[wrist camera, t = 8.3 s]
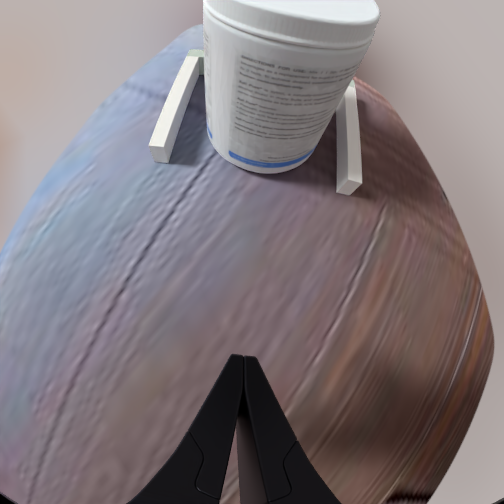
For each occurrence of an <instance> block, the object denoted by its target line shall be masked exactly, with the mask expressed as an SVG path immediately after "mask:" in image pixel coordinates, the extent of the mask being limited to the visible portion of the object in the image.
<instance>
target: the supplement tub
mask: <svg viewBox="0 0 504 504" xmlns="http://www.w3.org/2000/svg"><path fill="white" fill-rule="evenodd" d="M203 2H204V5H203V39H204V77H205V100H206V120H207V131H208V136H209V139H210V141H211V143H212V145H213V146H214V148H215V149H216V151H217V152H218V153H219V154H220V155H221V156H222V157H223V158H225V159H226V160H227V161H229V162H230V163H232V164H234V165H236V166H238V167H240V168H243V169H246V170H248V171H252V172H257V173H267V174H269V173H280V172H285V171H288V170H291V169H293V168H295V167H297V166H299V165H301V164H302V163H303V162H305V161H306V160H307V159H308V158H309V157H310V155H311V154H312V153H313V151H314V149H315V148H316V146H317V144H318V142H319V140H320V138H321V136H322V135H323V133H324V131H325V129H326V127H327V125H328V123H329V122H330V120H331V118H332V116H333V114H334V112H335V110H336V108H337V106H338V105H339V103H340V101H341V99H342V97H343V95H344V93H345V92H346V90H347V88H348V86H349V84H350V82H351V80H352V78H353V77H354V75H355V73H356V71H357V69H358V67H359V65H360V63H361V61H362V59H363V57H364V55H365V54H366V52H367V50H368V47H369V46H370V44H371V41H372V38H373V36H374V32H375V31H374V30H375V28H376V25H377V23H378V21H379V18H380V10H379V8H378V6H377V4H376V3H375V1H374V0H203Z"/></svg>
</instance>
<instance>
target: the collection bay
mask: <svg viewBox="0 0 504 504" xmlns="http://www.w3.org/2000/svg"><path fill="white" fill-rule="evenodd" d="M199 75H204V50H193V49H190V51H189V53H188V55H187V57H186V59H185V61H184V63H183V65H182V67H181V69H180V71H179V73H178V75H177V77H176V79H175V82H174V84H173V86H172V88H171V91H170V93H169V95H168V98H167V100H166V102H165V105H164V107H163V109H162V112H161V114H160V117H159V119H158V122H157V124H156V127H155V130H154V132H153V135H152V138H151V140H150V143H149V148H150V151H151V153H152V156H153V159H154V162H161V163H169V159H170V156H171V153H172V150H173V147H174V143H175V140H176V137H177V134H178V131H179V128H180V125H181V122H182V119H183V117H184V114H185V111H186V108H187V105H188V103H189V100H190V97H191V95H192V92H193V89H194V87H195V84H196V82H197V79H198V77H199ZM336 131H337V190H336V193H340V194H345V195H350V194H352V193H353V192H354V191H355V190H356V189H357V188H358V187H359V186H360V185H361V184H362V164H361V146H360V132H359V120H358V110H357V100H356V92H355V84H354V80H351V82H350V84H349V86H348V88H347V90H346V92H345V93H344V95H343V97H342V99H341V101H340V103H339V105H338V106H337V108H336Z"/></svg>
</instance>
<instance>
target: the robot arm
mask: <svg viewBox="0 0 504 504" xmlns="http://www.w3.org/2000/svg"><path fill="white" fill-rule="evenodd" d="M235 427H236V434H237V453H238V471H239V488H240V503H241V504H341V503H340V501H339V500H338V499H337V498H336V497H335V495H334V494H333V493H332V492H331V490H330V489H329V488H328V486H327V485H326V484H325V482H324V481H323V480H322V478H321V477H320V476H319V474H318V473H317V472H316V470H315V469H314V467H313V466H312V464H311V463H310V461H309V460H308V458H307V456H306V454H305V453H304V451H303V449H302V447H301V445H300V443H299V442H298V441H296V440H297V438H296V436H295V434H294V432H293V430H292V428H291V426H290V424H289V422H288V420H287V418H286V417H285V415H284V413H283V411H282V409H281V407H280V405H279V403H278V401H277V399H276V397H275V395H274V393H273V390H272V388H271V386H270V384H269V382H268V380H267V378H266V376H265V374H264V372H263V370H262V368H261V366H260V364H259V362H258V359H257V358H256V357H254V356H244V357H243V355H238V354H231V355H230V357H229V359H228V361H227V362H226V364H225V366H224V368H223V370H222V371H221V373H220V375H219V377H218V379H217V380H216V382H215V384H214V386H213V388H212V389H211V391H210V393H209V395H208V396H207V398H206V400H205V402H204V403H203V405H202V407H201V409H200V410H199V412H198V414H197V416H196V417H195V419H194V421H193V422H192V424H191V426H190V428H189V429H188V432H186V434H185V436H184V437H183V439H182V441H181V442H180V444H179V445H178V447H177V449H176V450H175V452H174V453H173V454H172V455H171V457H170V458H169V459H168V461H167V462H166V463H165V464H164V466H163V467H162V468H161V469H160V470H159V471H158V473H157V474H156V475H155V476H154V477H153V478H152V479H151V481H150V482H149V483H148V484H147V485H146V486H145V487H144V488H143V489H142V490H141V491H140V492H139V493H138V494H137V495H136V496H135V497H134V498H133V499H132V500H131V501H129V502H128V503H127V504H219V502H220V501H219V500H220V498H221V493H222V489H223V484H224V480H225V475H226V470H227V466H228V461H229V456H230V451H231V447H232V442H233V437H234V432H235ZM0 504H18V503H16V502H15V501H13V500H12V499H10V498H9V497H7V496H6V495H4V494H3V493H1V492H0ZM493 504H504V498H502V499H500V500H498V501H497V502H495V503H493Z"/></svg>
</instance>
